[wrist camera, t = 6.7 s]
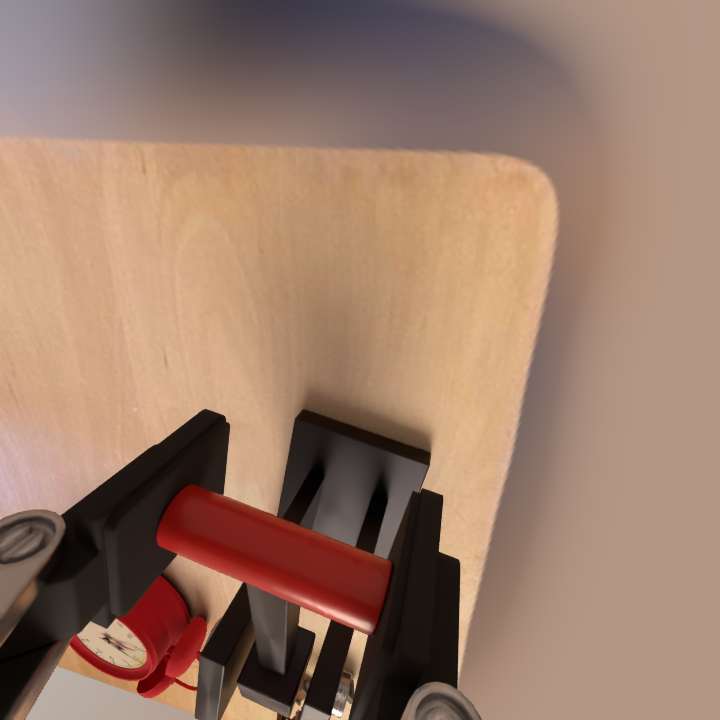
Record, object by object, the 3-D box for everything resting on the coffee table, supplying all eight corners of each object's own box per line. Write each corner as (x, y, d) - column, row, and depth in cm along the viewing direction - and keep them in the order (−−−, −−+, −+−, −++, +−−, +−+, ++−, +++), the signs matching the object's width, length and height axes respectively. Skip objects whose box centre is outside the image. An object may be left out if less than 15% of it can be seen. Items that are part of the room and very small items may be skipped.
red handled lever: (205, 455, 9) (131, 551, 8) (402, 530, 9) (372, 654, 7) (241, 618, 18) (210, 681, 16) (341, 663, 17) (321, 733, 15)
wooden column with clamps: (266, 695, 34) (257, 753, 29) (339, 639, 34) (340, 689, 29) (279, 708, 34) (272, 768, 29) (351, 653, 34) (355, 705, 29)
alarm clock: (61, 560, 29) (184, 730, 27) (138, 514, 35) (246, 651, 32) (31, 616, 34) (135, 766, 31) (103, 567, 39) (196, 691, 37)
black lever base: (302, 408, 23) (163, 577, 12) (431, 452, 22) (399, 680, 11) (278, 536, 28) (160, 741, 17) (384, 578, 26) (329, 827, 16)
